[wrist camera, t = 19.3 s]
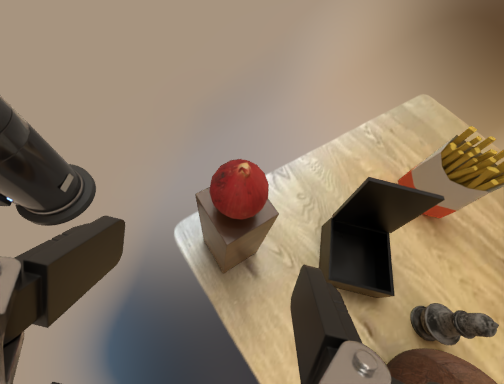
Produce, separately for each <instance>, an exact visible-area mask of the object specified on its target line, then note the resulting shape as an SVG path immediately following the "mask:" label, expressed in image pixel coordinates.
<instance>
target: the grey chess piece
mask: <svg viewBox="0 0 504 384" xmlns="http://www.w3.org/2000/svg"><path fill="white" fill-rule="evenodd" d="M411 323H412V326H413V328H414V330H415V331H416V333H417V334H418V335H419V336H420V337H422V338H423V339H425V340H428V341H434V340H437V341H439V342H440V343H442V344H445V345H454V344H456V343H457V342H458V341H459V339H460V336H463V337H465V338H468V339H472V338H474V337H475V336H482V337H492V336H494V335H495V334H496V332H497V328H498V326H499V325H498V324H497V323H496V322H494V321H493V320H492V319H491V318H490V317H489V316H487V315H486V314H482V313H466V312H465V311H461V310H458V311H456V312H455V313H453V312H452V311H451V310H449V309H448V308H447V307H446V306H444V305H442V304H439V303H433V304H430V305H429V306H428V307H424V306H417V307H415V308H414V309H413V310H412V312H411Z"/></svg>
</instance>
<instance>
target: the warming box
mask: <svg viewBox="0 0 504 384" xmlns="http://www.w3.org/2000/svg"><path fill="white" fill-rule="evenodd" d="M319 269H321V270H322V272H323V275H324V277H325V280H326V282H327V283H331V284H332V285H333V286H334V287H336V288H340V289H344V290H348V291H352V292H356V293H360V294H364V295H368V296H372V297H376V298H381V297H390V296H394V285H393V274H392V262H391V250H390V238H389V233H388V232H384V231H380V230H376V229H372V228H369V227H365V226H361V225H357V224H353V223H349V222H345V221H341V220H337V219H333V218H331V219H329V220H328V221H327V222H326V223H325V224H324V225H323V226H322V232H321V247H320V262H319Z"/></svg>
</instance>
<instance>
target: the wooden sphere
mask: <svg viewBox="0 0 504 384" xmlns="http://www.w3.org/2000/svg"><path fill="white" fill-rule="evenodd" d="M386 366H387V368H388V370H389V372H390V375H391V376H392V377H394V378H395V379H397V380H399V381H401V382H403V383H405V384H426V383H427V382H437V383H440V384H497V383H496V382H495V381H494V380H493V379H491V378H490V377H489V376H488V375H486V374H485V373H484V372H482V371H481V370H480V369H478V368H477V367H475V366H474V365H472V364H470V363H469V362H467V361H465V360H463V359H461V358H459V357H457V356H454V355H452V354H449V353H446V352H443V351H439V350H434V349H412V350H408V351H405V352H402V353H400V354H399V355H397V356H395V357H394V358H393V359H392V360H391V361H390V362H389V363H388V364H387V365H386Z"/></svg>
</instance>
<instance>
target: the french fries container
mask: <svg viewBox="0 0 504 384" xmlns="http://www.w3.org/2000/svg"><path fill="white" fill-rule="evenodd" d="M476 130H477V129H475V128H474V127H472V126H471V127H469V128H468V129H467V130H466V131H464V132H463V133H462V134H461V135H460V136H458V135H456V136H455V137H454V138H452V139H451V140H450V141H448V142H447V143H446V144H445V145H443V146H442V147H441V148H439V149H438V150H437V151H435V152H434V153H433V154H431V155H430V156H429V157H427V158H426V159H425V160H423V161H422V162H421V163H420V164H418V165H417V166H416V167H414V168H413V169H412V170H410V171H409V172H408V173H407V174H405V175H404V176H403V177H402V178H401V179H399V180H398V182H399V185H402V186H406V187H410V188H414V189H418V190H422V191H426V192H430V193H434V194H438V195H442V196H444V199H445V200H444V201H442V202H441V203H439V204H437V205H436V206H434V207H432V208H431V209H429V210H428V211H426V212H424V213H423V214H426V215H429V216H433V217H437V218H442V217H444V216H446V215H449V214H451V213H453V212H455V211H457V210H459V209H461V208H463V207H465V206H467V205H468V204H470V203H472V202H474V201H476V200H477V199H479V198H481V197H483V196H485V195H486V194H488V193H490V192H492V191H495V190H497V189H499V188H501V187H503V186H504V162H502V163H501V164H499V165H498V166H497V165H496V164H495V163H496V162H497V161H499V160H500V159H501V158H503V157H504V150H502V151H501V152H500V153H498V154H497V151H494V150H492V149H491V150H489V151H487V152H485V153H484V154H482V153H481V150H482V149H483V148H485V147H486V146H488V145H489V144H491V143H492V142H493V141H495V140H496V139H495V138H493V137H489V138H487V139H486V140H484V141H483V142H481V143H480V144H479V145H477V146H476V147H472V146H473V145H474V144H476V143H477V142H479V141H480V140H482V138H480V137H479V136H478V137H476V138H475V139H473V140H471V141H470V142H466V141H464V140H465V139H466V138H467V137H469V136H470V135H471V134H473V133H474V132H475V131H476ZM496 154H497V155H496ZM494 155H495V156H494ZM492 156H494V157H492Z"/></svg>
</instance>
